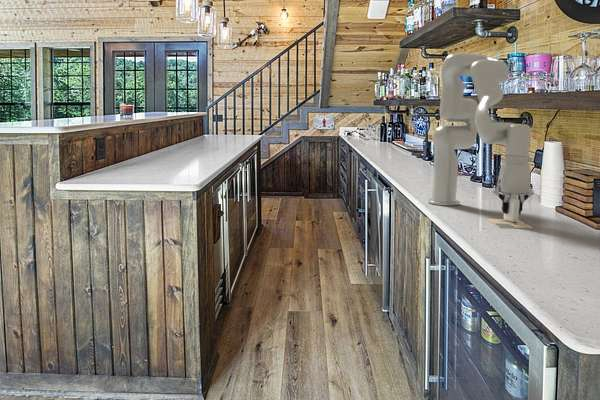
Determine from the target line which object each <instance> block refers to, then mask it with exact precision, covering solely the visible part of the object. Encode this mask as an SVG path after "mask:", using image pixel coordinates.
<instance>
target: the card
mask: <svg viewBox="0 0 600 400" xmlns="http://www.w3.org/2000/svg"><path fill="white" fill-rule="evenodd" d="M486 220H487V221H489V222H491V223H492V224H493V225H495V226H496V227H498V228H500V229H527V230H528V229H531V230H532V229H534V227H533V226H531V225H529V224H527V223H525V222H523V221H521V220H520V219H518V222H510V221H506V220H504V218H486Z"/></svg>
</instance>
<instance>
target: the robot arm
mask: <svg viewBox="0 0 600 400" xmlns="http://www.w3.org/2000/svg"><path fill="white" fill-rule="evenodd" d="M440 72H441V73H440V74H441V75H440V77H441V92H440V93H441V94H440V104H439V117H440V119H441V121H444V122H447V123H448V122H449V123H460V124H459V125H456V124H453V125H452V124H450V125H449V124H445V125H440V126H438V127H436V129H435V130H434V131H433V133H432V141H433V150H434V153H433V154H434V155H433V175H432V193H431V198H428V199H427V203H428V204H432V205H437V206H458V205H460V200H458V199H457V188H458V174H459V173H458V172H459V157H458V155H457V153H456V151H455V150H468V149H471V148H473V146H475V143H476V140H477V136H479V139H480V140H481V141H482V142H483V143H485V144H488V145H505V150H504V151H505V152H504V154H505V155H504V163H501V165H500V169H499V172H498V177H497V178H498V179H497V184H496V185H497V186H496V187H495V188H494V190H493V191H492V193H493V194H494V195H495V196H497V197H498V198H499V199H500V201H501V202H502V204H501V210H502V212H503V214H504V213H505V214H507V213H508V206H509V203H508V197H509V194H517V198H518V199H519V201H520V206H519V215H521V213H522V211H523V205H524V203H525V201H527V200H528V199H529V198H530V197H532V196H534V194H535V192H534V190H533V189H532V187H531V168H530V165H529V163H530V162H533V158H532V157H530V156H529V154H530V153H529V152H530V142H531V131H532V130H531V126H530V125H528V124H523V123H514V122H501V121H500V122H499V121H497V122H496V121H495V122H493V121H492V119H491V117H490V113H489V109H490V107H492V106H495V105H496V104H498V103H499V102H500V101H501V100H502V99H503V97H504V93H503V90H502V86H501V84H504V83H505V82H506V81H507V80H508V78H509V75H510V70H509V67H508V65H507V63H506V62H504V60H501V59H497V58H495V57H491V56H489V55H487V54H481V53H480V54H479V53H466V52H465V53H463V52H461V53H460V52H456V53H451V54H449V55H448V56H446V57H445V59H444V60H443V61H442V65H441V70H440ZM461 77H470V78H471V80H472V84H473V87H474V90H475V92H476V93H475V94H476V96H477V99H478V101H479V103H477V101H476V100H475V99H473V98H470V97H469V98H465V97H464V93H465V87H464V82H463V80H462V78H461ZM477 134H478V135H477Z"/></svg>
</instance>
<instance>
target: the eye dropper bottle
mask: <svg viewBox="0 0 600 400" xmlns="http://www.w3.org/2000/svg"><path fill="white" fill-rule="evenodd" d="M508 203H509V206H508V213H507V214H505V213H503V219H504V220H506V221H510V222H518V220H519V217H520V216H519V215H520V214H519V206H520V201H519V199H518V194H509V196H508Z"/></svg>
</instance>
